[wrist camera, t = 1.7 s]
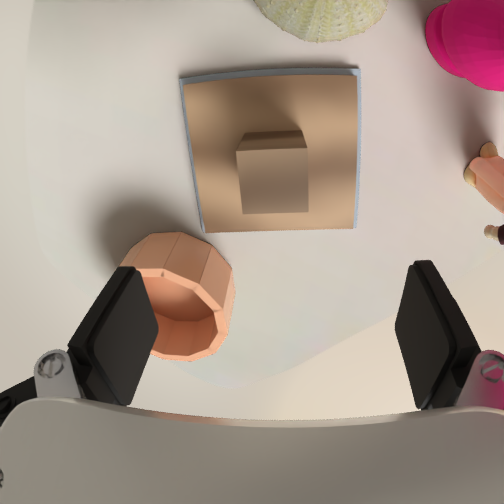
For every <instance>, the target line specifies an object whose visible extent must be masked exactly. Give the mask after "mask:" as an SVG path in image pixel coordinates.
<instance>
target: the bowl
mask: <svg viewBox="0 0 504 504" xmlns="http://www.w3.org/2000/svg"><path fill="white" fill-rule="evenodd" d="M119 266H134V267H135V268H136V270H139V271H140V272H141V275H142V278H143V281H144V285H145V288H146V291H147V294H148V297H149V300H150V303H151V305H152V308H153V311H154V314H155V317H156V320H157V323H158V326H159V331H158V335H157V338H156V340H155V343H154V345H153V348H152V350H151V353H150V354H152V355H154V356H157V357H159V358H162V359H165V360H179V361H195V360H197V359H200V358H203V357H206V356H208V355H211V354H214V353H216V352H217V350H218V349H219V347H220V346H221V344H222V342H223V341H224V339H225V338H226V336H227V335H228V330H229V325H230V319H231V314H232V308H233V303H234V297H235V287H234V280H233V273H232V268H231V267H230V266H229V264H228V263H227V262H226V261H225V260H224V259H223V257H222V256H221V255H220V254H219V253H218V252H217V250H216V249H215V248H214V247H213V246H212V245H211V244H208V243H206V242H204V241H201V240H199V239H197V238H195V237H192V236H190V235H188V234H186V233H183V232H166V233H151V234H149V235H148V236H147V237H145V238H144V239H143V240H141V241H140V242H138V243H137V244H136V245H134V246H133V247H132V248H131V249H130V250H129V252H128V253H127V255H126V256H125V258H124V259H123V261H122V262H121V264H120V265H119Z"/></svg>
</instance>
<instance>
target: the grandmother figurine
mask: <svg viewBox="0 0 504 504" xmlns="http://www.w3.org/2000/svg"><path fill="white" fill-rule="evenodd" d="M464 179H465V181H466V182H467V183H469V184H470V185H472V186H473V187H475V188H476V189H477V190H478V191H479V192H480V193H481V194H482V195H483V196H484V198H485V199H486V200H487V201H488V202H489V203H491V204H492V205H493V206H494V207H495V208H496V209H498V210H499V211H500V212H501V213H503V214H504V159H503V158H502V157H500V156H498V152H497V149H496V146H495V145H494V144H493V143H491V142H488V143H486V144H484V145H483V146H482V148H481V150H480V157H476V158H475V159H473V160H472V161H471V163H470V165H468V167H467V168H466V170H465V172H464ZM484 234H485V236H486V237H487V238H493V239H494V240H497V241H499V242H500V244H501V245H504V225H502V226H500V227H498V226H496V227H494V226H493V225H488V226H486V227H485V229H484Z"/></svg>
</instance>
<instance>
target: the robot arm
mask: <svg viewBox="0 0 504 504" xmlns="http://www.w3.org/2000/svg"><path fill="white" fill-rule="evenodd" d="M158 331H159V326H158V323H157V320H156V317H155V314H154V311H153V308H152V305H151V303H150V300H149V297H148V294H147V291H146V288H145V285H144V281H143V278H142V275H141V272H140V271H139V270H136V268H135V267H134V266H119V267H118V268H117V269H116V271H115V272H114V274H113V275H112V276H111V278H110V279H109V281H108V282H107V284H106V285H105V287H104V288H103V290H102V291H101V293H100V294H99V296H98V297H97V299H96V300H95V302H94V303H93V305H92V306H91V308H90V310H89V311H88V313H87V314H86V316H85V317H84V319H83V320H82V322H81V324H80V325H79V327H78V328H77V330H76V332H75V333H74V335H73V336H72V338H71V340H70V341H69V343H68V347H69V349H68V351H67V352H65V351H63V350H60V349H59V350H51V351H48V352H47V353H45V354H43V355H42V356H41V357H40V358H39V359H38V361H37V363H36V364H35V367H34V376H33V377H31V378H29V379H27V380H25V381H23V382H21V383H19V384H17V385H15V386H13V387H11V388H9V389H7V390H5V391H3V392H2V393H0V504H504V355H503V354H501V353H500V352H497V351H494V350H486V351H481V349H480V348H479V345H478V343H477V341H476V339H475V337H474V335H473V333H472V331H471V329H470V327H469V325H468V323H467V321H466V319H465V317H464V315H463V313H462V312H461V310H460V308H459V306H458V304H457V302H456V300H455V299H454V298H453V297H452V295H451V293H450V291H449V289H448V288H447V286H446V284H445V282H444V281H443V279H442V277H441V276H440V274H439V272H438V271H437V269H436V267H435V266H434V264H433V262H432V261H431V260H417V261H415V262H414V264H413V265H410V266H409V268H408V273H407V277H406V282H405V286H404V290H403V295H402V299H401V303H400V307H399V311H398V314H397V318H396V322H395V332H396V336H397V339H398V342H399V346H400V349H401V353H402V356H403V359H404V363H405V366H406V370H407V374H408V378H409V381H410V385H411V389H412V393H413V397H414V401H415V405H416V407H417V408H418V409H421V411H415V412H407V413H399V414H390V415H380V416H370V417H359V418H345V419H327V420H246V419H227V418H213V417H202V416H191V415H182V414H173V413H165V412H158V411H151V410H144V409H138V408H132V407H126V406H127V405H130V404H131V402H132V399H133V397H134V394H135V391H136V388H137V386H138V383H139V381H140V378H141V376H142V373H143V370H144V368H145V365H146V363H147V360H148V358H149V355H150V353H151V350H152V348H153V345H154V343H155V340H156V338H157V335H158Z"/></svg>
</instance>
